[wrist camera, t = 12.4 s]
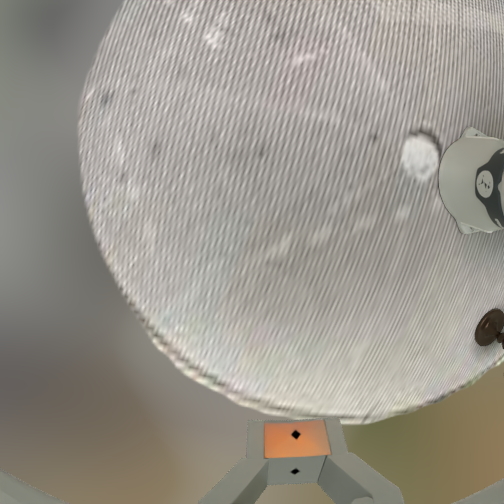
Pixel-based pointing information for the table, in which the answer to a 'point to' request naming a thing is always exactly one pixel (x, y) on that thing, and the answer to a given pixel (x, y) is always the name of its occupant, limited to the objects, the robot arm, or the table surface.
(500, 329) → the candlestick
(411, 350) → the table surface
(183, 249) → the table surface
